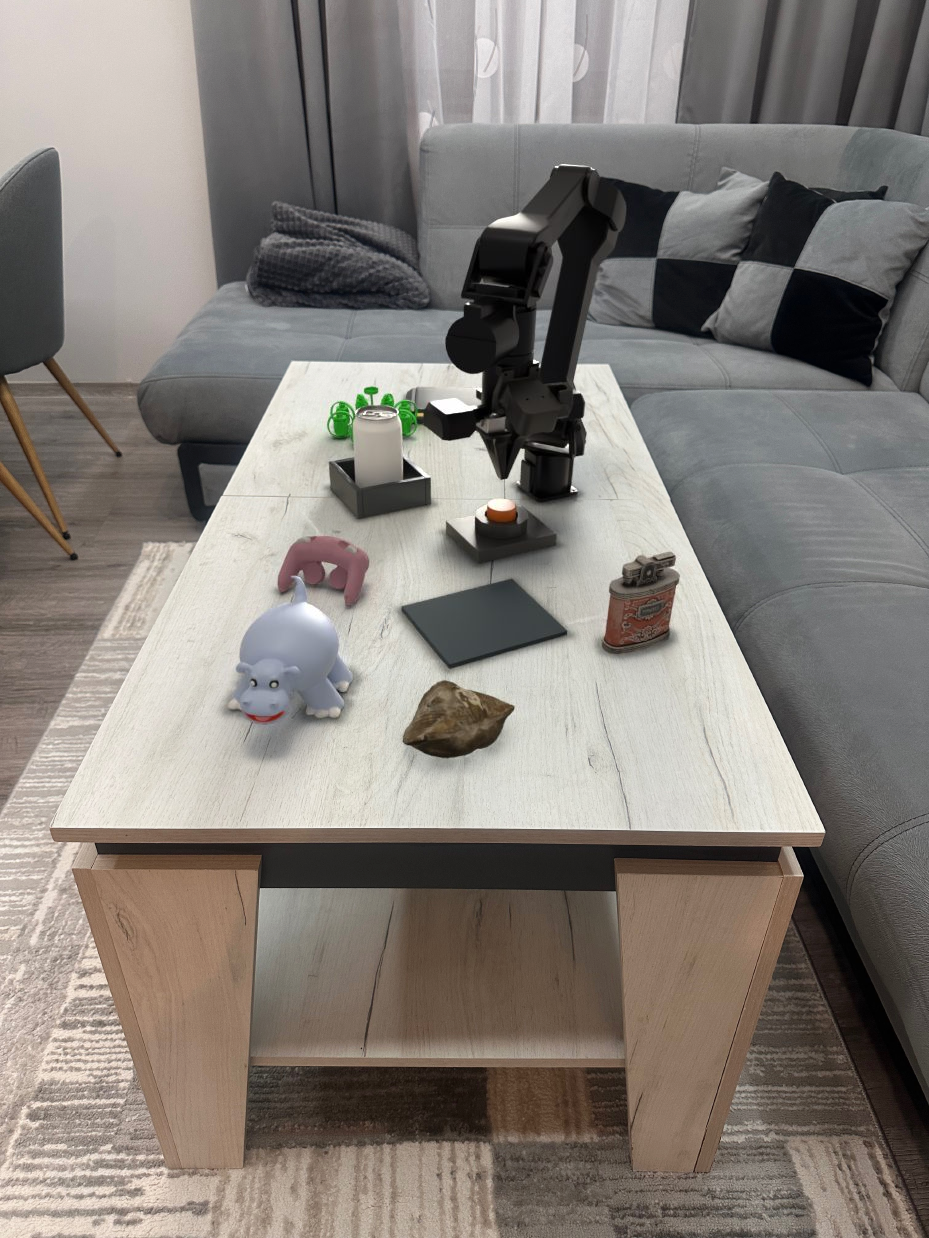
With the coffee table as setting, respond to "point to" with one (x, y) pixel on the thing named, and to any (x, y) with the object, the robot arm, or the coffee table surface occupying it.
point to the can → (377, 445)
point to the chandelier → (343, 412)
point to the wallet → (439, 397)
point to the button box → (500, 535)
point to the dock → (380, 489)
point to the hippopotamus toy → (290, 663)
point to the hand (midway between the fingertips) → (502, 478)
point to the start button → (501, 510)
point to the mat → (482, 622)
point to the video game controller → (330, 550)
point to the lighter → (641, 604)
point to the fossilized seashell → (455, 721)
